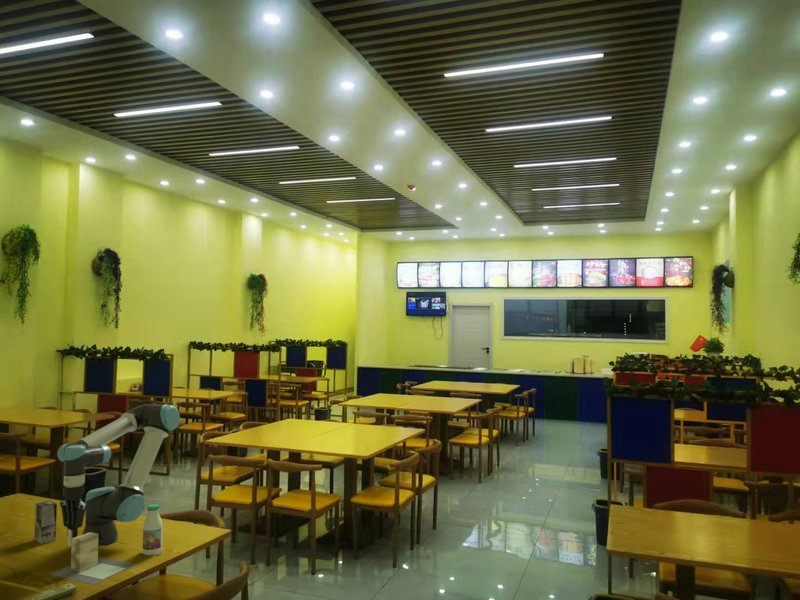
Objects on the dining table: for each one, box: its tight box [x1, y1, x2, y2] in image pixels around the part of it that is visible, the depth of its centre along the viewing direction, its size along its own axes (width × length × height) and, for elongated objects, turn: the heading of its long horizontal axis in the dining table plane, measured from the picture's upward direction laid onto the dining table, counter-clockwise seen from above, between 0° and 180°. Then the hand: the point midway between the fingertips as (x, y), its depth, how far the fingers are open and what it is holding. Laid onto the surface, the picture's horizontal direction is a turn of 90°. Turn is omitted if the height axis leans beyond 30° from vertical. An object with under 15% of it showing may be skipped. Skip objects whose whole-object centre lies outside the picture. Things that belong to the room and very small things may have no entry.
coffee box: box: [34, 500, 58, 544], centre depth 268 cm, size 9×6×16 cm
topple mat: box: [49, 556, 138, 585], centre depth 233 cm, size 24×20×1 cm
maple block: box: [70, 532, 99, 572], centre depth 235 cm, size 5×8×12 cm, turn 157°
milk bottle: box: [142, 503, 164, 556], centre depth 252 cm, size 8×8×20 cm
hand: (72, 545), depth 237 cm, fingers closed
